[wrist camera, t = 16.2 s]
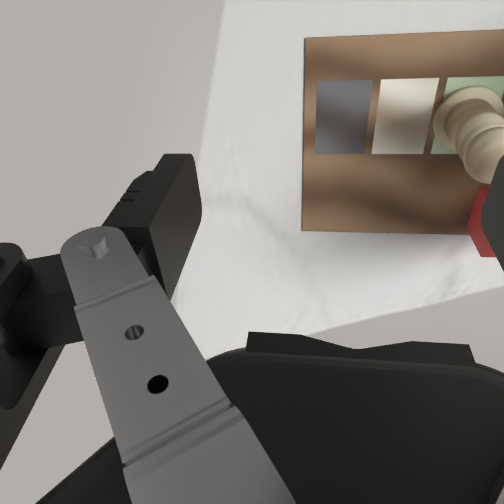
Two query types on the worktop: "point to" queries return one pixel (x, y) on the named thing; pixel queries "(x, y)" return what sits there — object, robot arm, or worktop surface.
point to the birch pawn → (472, 129)
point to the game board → (390, 130)
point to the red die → (479, 225)
